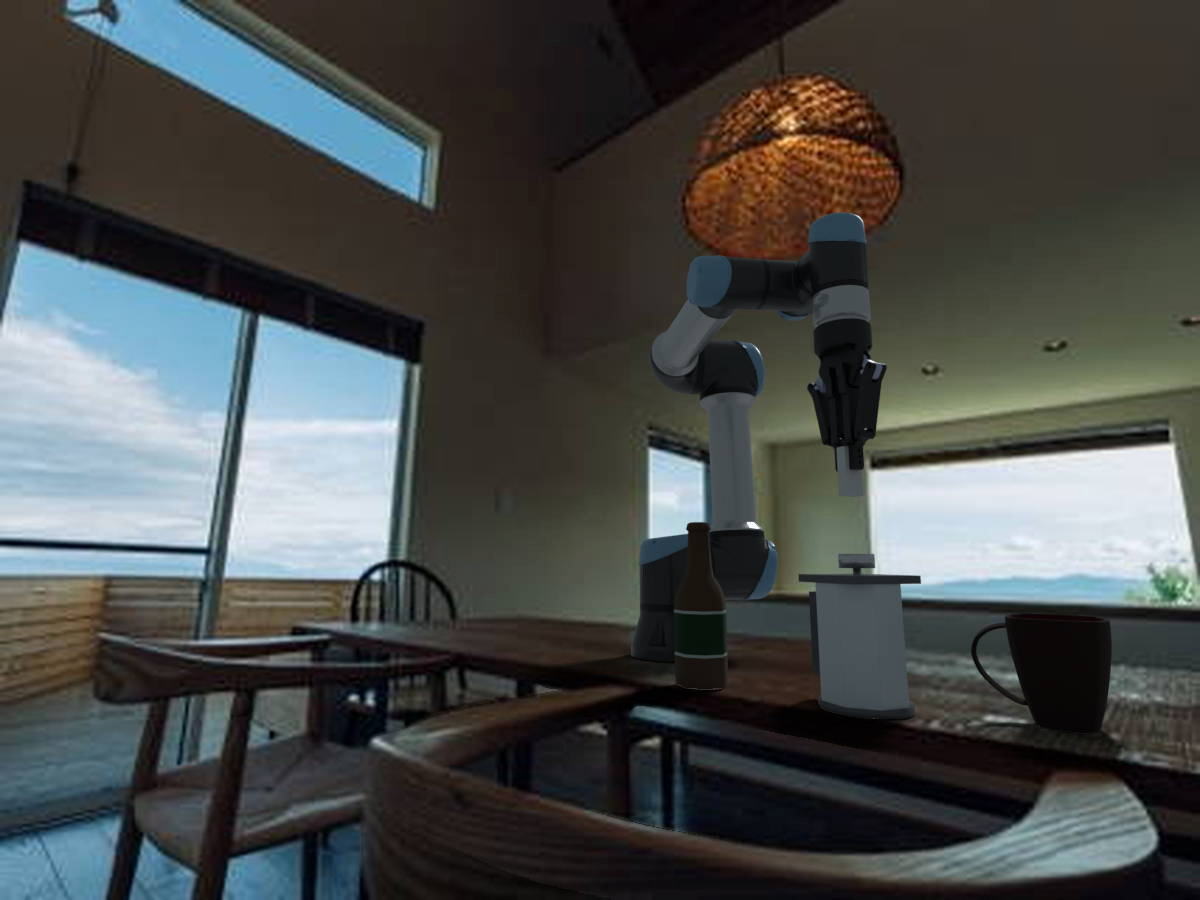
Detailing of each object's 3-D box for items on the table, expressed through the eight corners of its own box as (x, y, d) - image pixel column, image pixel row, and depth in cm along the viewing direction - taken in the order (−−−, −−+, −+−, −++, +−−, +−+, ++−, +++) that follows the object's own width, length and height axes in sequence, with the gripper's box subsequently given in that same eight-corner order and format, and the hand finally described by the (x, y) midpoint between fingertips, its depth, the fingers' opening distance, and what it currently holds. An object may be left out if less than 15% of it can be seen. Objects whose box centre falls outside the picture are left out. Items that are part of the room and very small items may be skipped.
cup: (1124, 744, 66) (1109, 623, 68) (969, 723, 74) (960, 615, 76) (1123, 725, 74) (1110, 616, 76) (983, 707, 82) (974, 610, 84)
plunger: (834, 621, 84) (830, 553, 86) (861, 620, 86) (857, 554, 87) (858, 624, 80) (854, 553, 82) (886, 623, 82) (882, 553, 83)
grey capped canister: (785, 698, 87) (780, 573, 90) (852, 692, 91) (845, 573, 94) (862, 723, 74) (853, 576, 77) (936, 715, 78) (925, 575, 81)
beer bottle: (696, 679, 101) (693, 524, 105) (739, 686, 95) (734, 522, 99) (664, 686, 95) (662, 522, 99) (707, 693, 90) (703, 520, 94)
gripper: (789, 336, 94) (796, 498, 91) (853, 305, 82) (864, 490, 79) (831, 342, 97) (839, 500, 93) (899, 312, 85) (912, 492, 81)
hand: (851, 495), depth 86 cm, fingers closed
